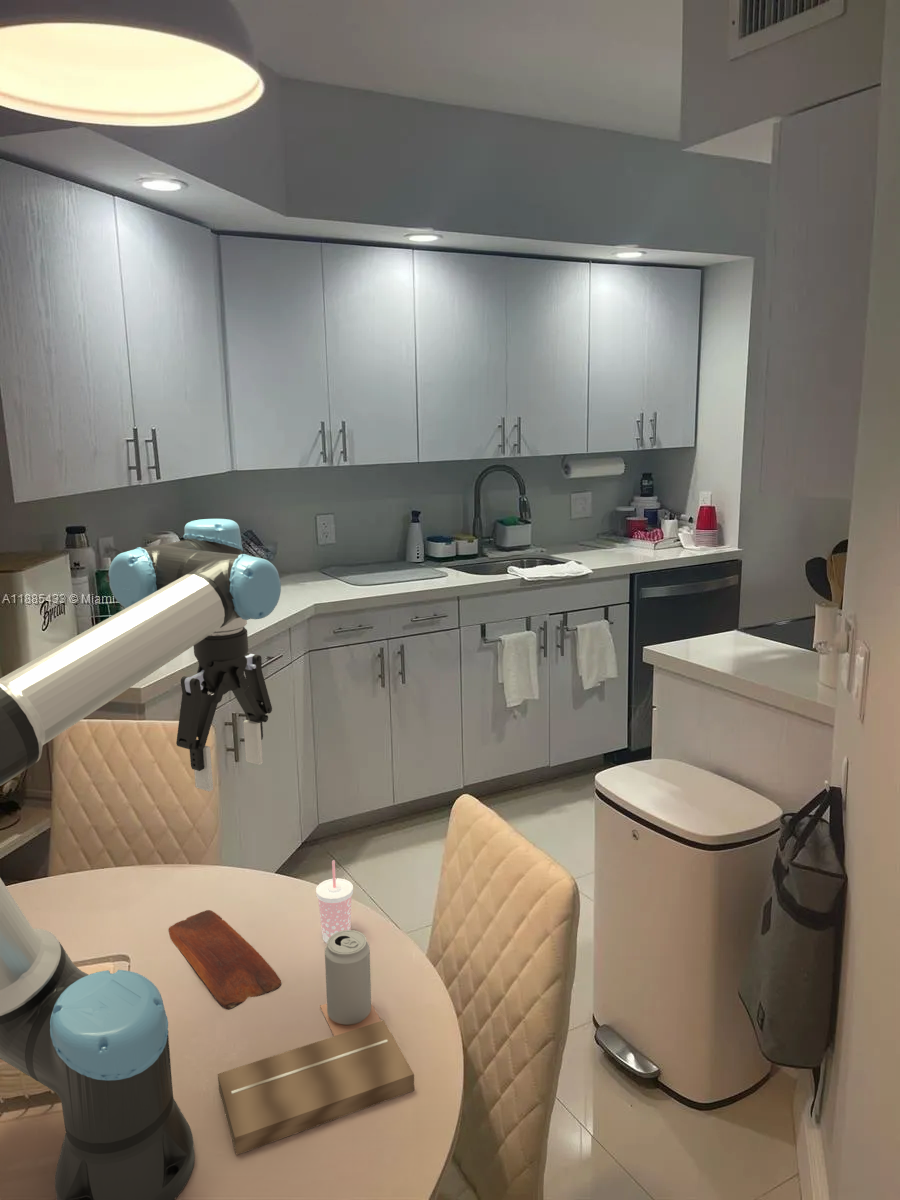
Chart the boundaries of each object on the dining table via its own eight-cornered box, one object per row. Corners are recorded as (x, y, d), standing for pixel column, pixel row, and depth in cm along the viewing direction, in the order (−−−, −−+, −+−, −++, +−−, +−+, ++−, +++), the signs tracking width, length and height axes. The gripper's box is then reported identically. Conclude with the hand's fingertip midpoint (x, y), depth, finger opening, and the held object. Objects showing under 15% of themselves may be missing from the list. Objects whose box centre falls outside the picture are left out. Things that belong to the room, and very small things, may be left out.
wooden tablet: (286, 988, 133) (286, 979, 133) (224, 1016, 128) (224, 1006, 127) (217, 909, 154) (216, 900, 154) (161, 929, 148) (160, 921, 148)
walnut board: (236, 1155, 104) (234, 1137, 103) (218, 1089, 113) (217, 1073, 113) (414, 1090, 113) (413, 1073, 112) (384, 1035, 123) (383, 1019, 122)
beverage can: (345, 993, 131) (342, 922, 128) (380, 1008, 128) (378, 936, 125) (318, 1018, 126) (314, 945, 123) (354, 1034, 122) (351, 960, 120)
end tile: (334, 1038, 122) (334, 1036, 122) (320, 1007, 128) (320, 1005, 128) (381, 1023, 125) (381, 1021, 125) (364, 993, 131) (364, 991, 131)
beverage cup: (341, 951, 141) (338, 874, 138) (310, 941, 144) (306, 865, 141) (361, 931, 146) (359, 856, 143) (331, 921, 149) (328, 848, 146)
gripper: (254, 608, 134) (262, 744, 139) (138, 644, 115) (153, 799, 121) (291, 614, 130) (298, 753, 136) (178, 652, 112) (192, 811, 117)
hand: (230, 774), depth 128 cm, fingers open, 10 cm apart
